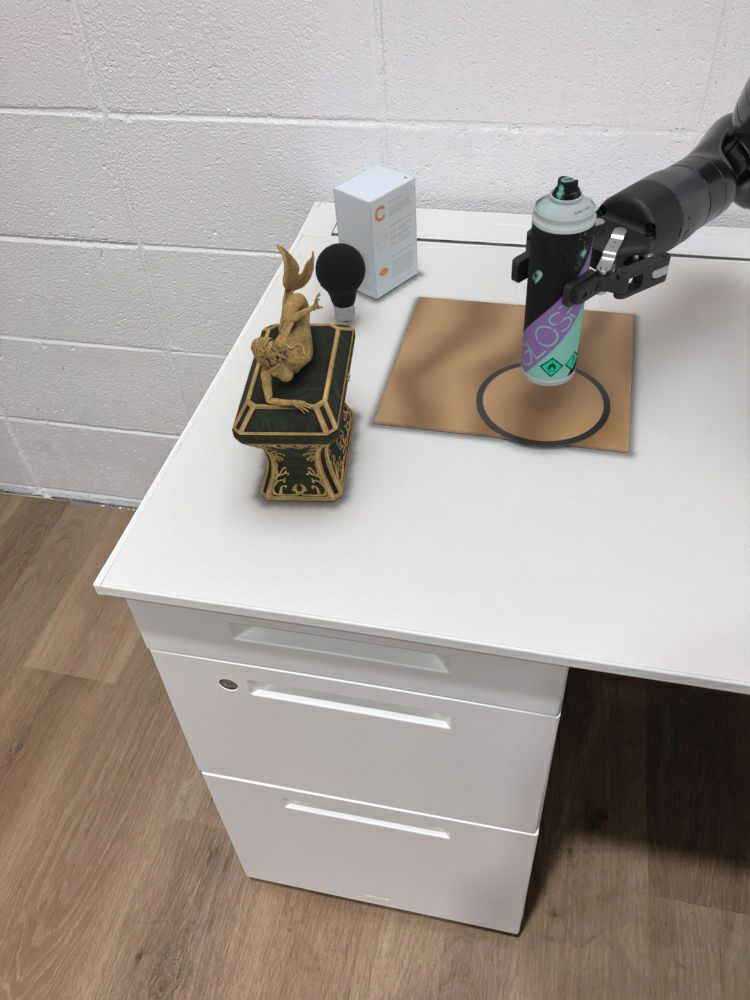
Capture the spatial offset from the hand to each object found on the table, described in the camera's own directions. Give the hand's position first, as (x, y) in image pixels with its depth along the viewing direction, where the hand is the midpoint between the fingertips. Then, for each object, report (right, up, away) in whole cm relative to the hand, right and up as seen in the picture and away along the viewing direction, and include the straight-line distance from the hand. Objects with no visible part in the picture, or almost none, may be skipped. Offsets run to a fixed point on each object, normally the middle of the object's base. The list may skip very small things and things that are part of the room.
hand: (540, 284), depth 73 cm
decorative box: (-21, -14, +10) cm, 28 cm away
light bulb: (-19, +2, +26) cm, 32 cm away
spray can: (+3, -6, +9) cm, 11 cm away
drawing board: (0, -5, +17) cm, 18 cm away
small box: (-14, +9, +32) cm, 36 cm away
